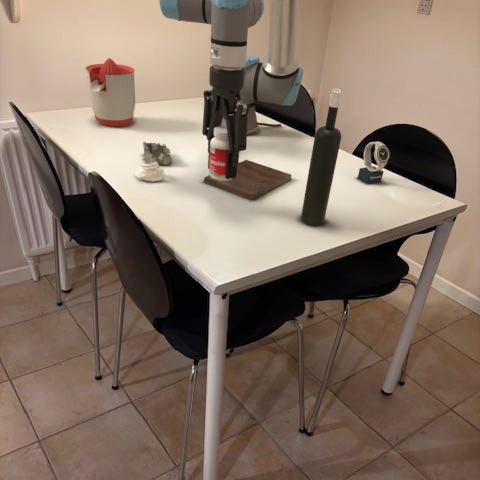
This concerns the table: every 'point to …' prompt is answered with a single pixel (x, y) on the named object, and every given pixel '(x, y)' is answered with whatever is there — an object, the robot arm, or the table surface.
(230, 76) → the robot arm
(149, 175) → the cream folded ring
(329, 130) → the wine bottle
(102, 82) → the citrus juicer
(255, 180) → the walnut board
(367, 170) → the watch
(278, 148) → the table surface
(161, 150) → the egg carton
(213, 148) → the pill bottle
